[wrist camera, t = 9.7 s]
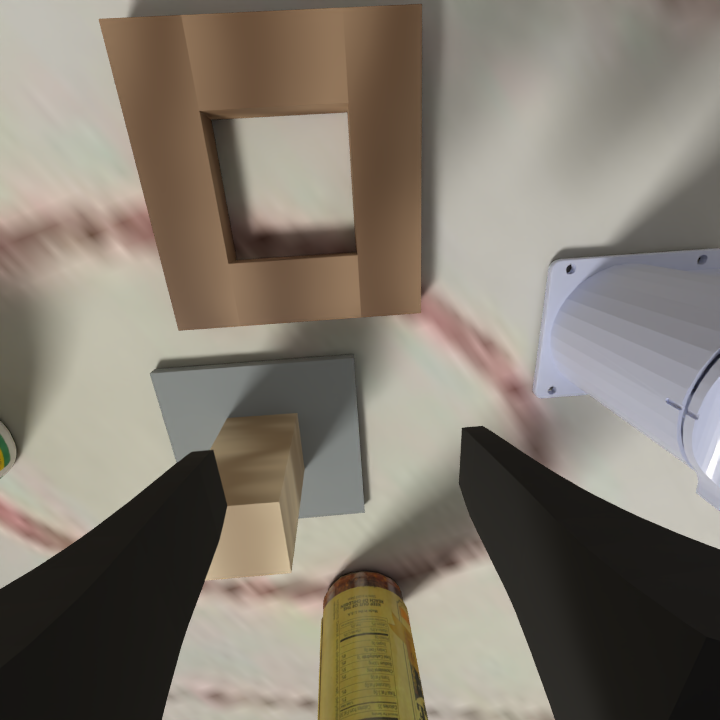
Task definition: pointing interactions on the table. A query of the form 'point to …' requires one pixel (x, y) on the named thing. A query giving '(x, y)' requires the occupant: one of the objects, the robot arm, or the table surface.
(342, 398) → the grey square plate
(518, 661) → the table surface
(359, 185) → the brown wooden square frame
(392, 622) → the sauce bottle
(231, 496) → the beech block
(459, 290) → the table surface
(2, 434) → the supplement bottle
